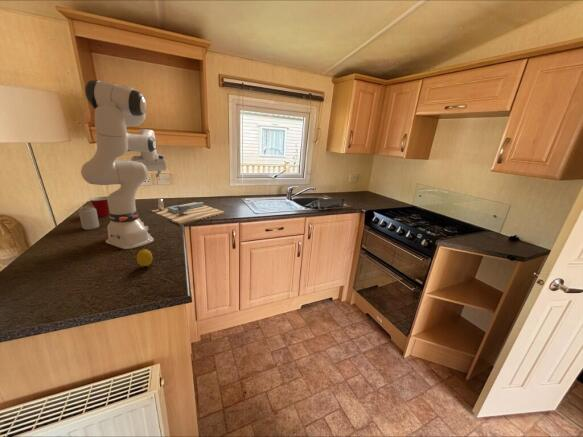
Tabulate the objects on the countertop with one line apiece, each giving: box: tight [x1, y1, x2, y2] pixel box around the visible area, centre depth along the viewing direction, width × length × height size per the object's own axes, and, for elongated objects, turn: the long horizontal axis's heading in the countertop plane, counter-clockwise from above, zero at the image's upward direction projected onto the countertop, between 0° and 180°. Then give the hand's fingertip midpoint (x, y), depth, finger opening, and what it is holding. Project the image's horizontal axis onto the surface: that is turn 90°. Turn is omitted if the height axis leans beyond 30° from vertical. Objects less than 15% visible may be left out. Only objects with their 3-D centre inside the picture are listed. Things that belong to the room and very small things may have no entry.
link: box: [167, 201, 205, 213], centre depth 173 cm, size 24×9×2 cm, turn 145°
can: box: [78, 205, 100, 231], centre depth 132 cm, size 8×8×12 cm
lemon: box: [136, 248, 153, 267], centre depth 99 cm, size 6×6×8 cm
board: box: [152, 201, 225, 226], centre depth 169 cm, size 34×34×2 cm
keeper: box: [178, 206, 190, 215], centre depth 161 cm, size 4×7×5 cm, turn 145°
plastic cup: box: [88, 195, 109, 218], centre depth 151 cm, size 11×11×12 cm
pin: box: [157, 198, 165, 211], centre depth 165 cm, size 3×3×8 cm
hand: (150, 177), depth 157 cm, fingers open, 8 cm apart
